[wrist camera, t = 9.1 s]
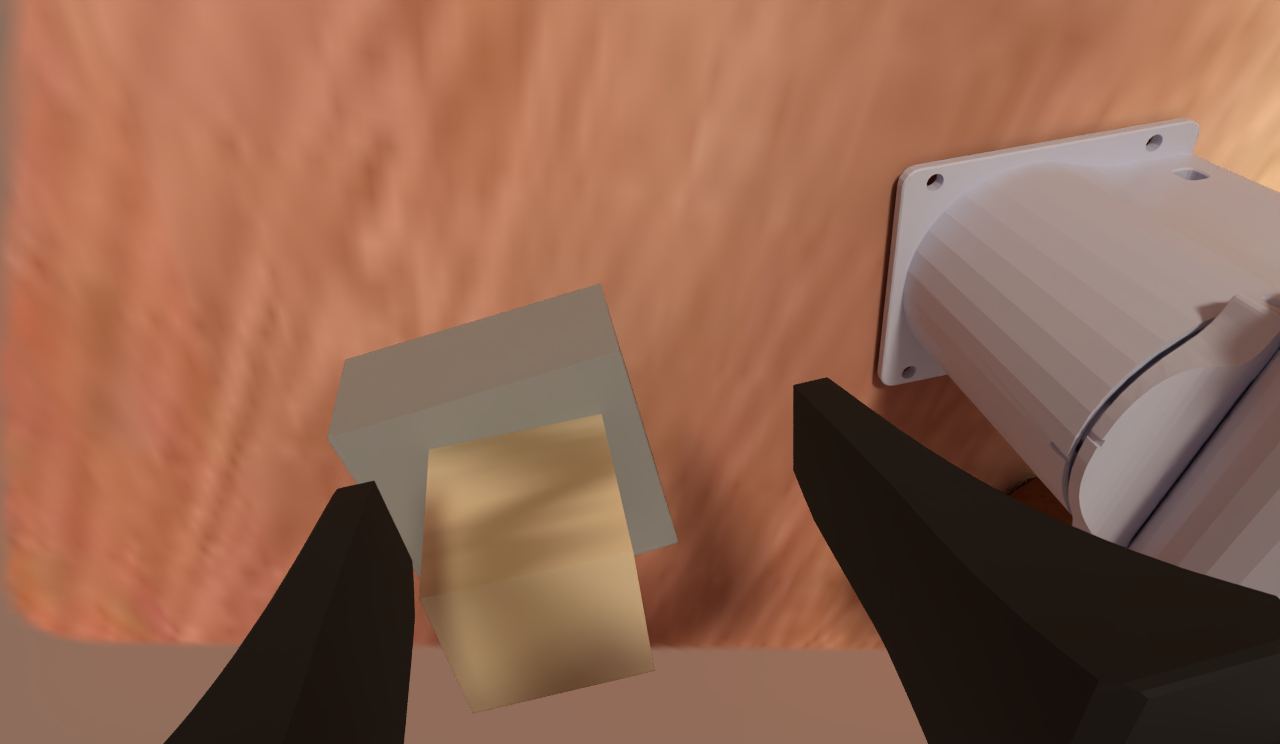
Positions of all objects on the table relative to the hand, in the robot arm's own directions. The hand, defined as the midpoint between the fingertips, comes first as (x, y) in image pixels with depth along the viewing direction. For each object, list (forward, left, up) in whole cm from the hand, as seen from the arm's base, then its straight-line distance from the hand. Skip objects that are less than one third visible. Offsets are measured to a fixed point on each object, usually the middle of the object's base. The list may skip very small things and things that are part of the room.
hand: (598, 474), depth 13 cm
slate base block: (+2, +7, -11) cm, 13 cm away
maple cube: (+2, +7, -7) cm, 10 cm away
